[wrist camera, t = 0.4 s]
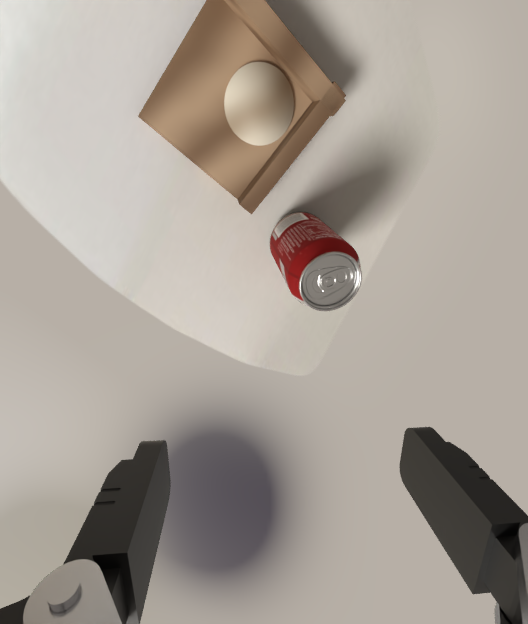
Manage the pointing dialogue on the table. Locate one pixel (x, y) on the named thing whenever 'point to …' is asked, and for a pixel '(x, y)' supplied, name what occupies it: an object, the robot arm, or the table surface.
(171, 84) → the wooden tray
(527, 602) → the robot arm
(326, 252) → the soda can
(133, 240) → the table surface
